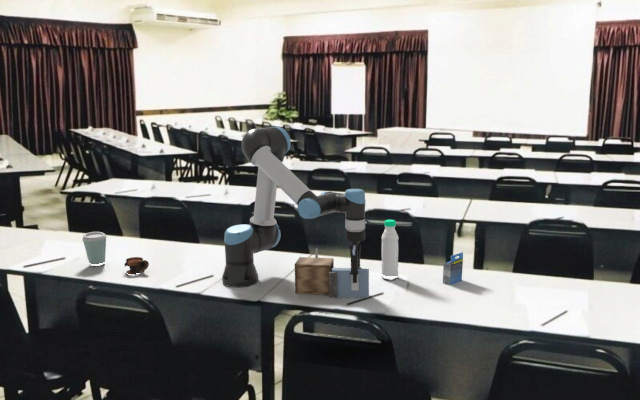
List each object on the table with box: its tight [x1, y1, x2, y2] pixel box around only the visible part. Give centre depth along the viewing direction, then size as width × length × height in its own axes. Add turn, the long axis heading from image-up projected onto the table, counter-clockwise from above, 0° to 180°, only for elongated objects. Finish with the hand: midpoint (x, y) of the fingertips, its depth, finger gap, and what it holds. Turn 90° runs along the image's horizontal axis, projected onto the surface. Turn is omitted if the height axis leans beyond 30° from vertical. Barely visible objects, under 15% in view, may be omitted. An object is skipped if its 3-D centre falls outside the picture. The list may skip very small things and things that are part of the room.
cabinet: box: [294, 256, 338, 299], centre depth 243 cm, size 17×13×12 cm
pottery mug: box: [124, 256, 150, 274], centre depth 273 cm, size 12×10×8 cm
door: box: [332, 267, 370, 299], centre depth 238 cm, size 14×3×11 cm, turn 81°
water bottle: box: [380, 219, 399, 277], centre depth 258 cm, size 7×7×25 cm
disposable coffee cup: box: [82, 231, 107, 264], centre depth 284 cm, size 11×11×15 cm
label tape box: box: [442, 251, 464, 286], centre depth 253 cm, size 9×4×12 cm, turn 134°
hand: (355, 288), depth 238 cm, fingers open, 4 cm apart
